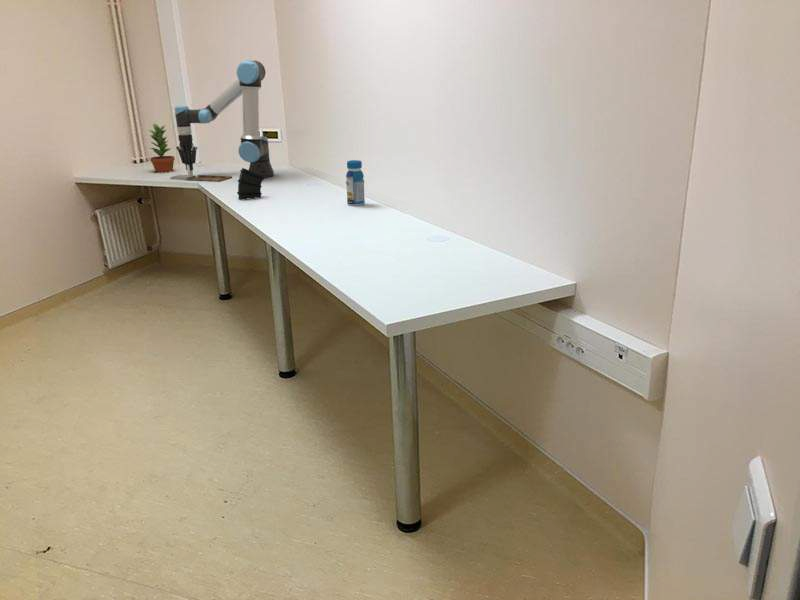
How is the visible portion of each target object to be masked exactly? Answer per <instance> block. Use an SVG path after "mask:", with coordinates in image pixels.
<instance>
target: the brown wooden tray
mask: <svg viewBox="0 0 800 600" xmlns="http://www.w3.org/2000/svg"><path fill="white" fill-rule="evenodd" d="M230 179H233V175H211V174H210V175H209V174H208V175H205V174H198V175H197V176H196V177H195V178H191V179H189V178H185V180H184V181H187V182H188V181H191V182H192V181H193V182H208V183H209V182H210V183H211V182H212V183H221V182H223V181H224V182H225V181H227V180H230Z"/></svg>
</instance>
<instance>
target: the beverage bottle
mask: <svg viewBox="0 0 800 600" xmlns="http://www.w3.org/2000/svg"><path fill="white" fill-rule="evenodd" d="M346 167H347V168H346V169H347V172H346V175H345V177H346V178H345V179H346V180H345V184H346V200H347V201H346V202H347V205H348V206H352V207H359V206H360V207H361V206H364V205H365V201H366V200H365V179H364V177H365V175H364V172H363V171H362V167H363V162H362V160H358V159H357V160H355V159H354V160H353V159H352V160H347V161H346Z"/></svg>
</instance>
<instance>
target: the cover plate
mask: <svg viewBox="0 0 800 600" xmlns="http://www.w3.org/2000/svg"><path fill="white" fill-rule="evenodd" d="M196 177H197V176H196V175H194V174H193V176H188V174H178V175H175V176H171V177H169V179H170V180H178V181H179V180H180V181H181V180H184V181H185V178H189V179H192V178H196Z"/></svg>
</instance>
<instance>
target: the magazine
mask: <svg viewBox="0 0 800 600" xmlns="http://www.w3.org/2000/svg"><path fill="white" fill-rule="evenodd" d="M239 172H240V174H239V178H238V179H237V182H238V185H237V187H238V189H237V195H238V200H240V199H245V200H248V199H247V198H252V199H256V198H255V197H260V198H261V197H262V195H263V193H262V191H261V188H263V185H262V183H263V181H264V180H265V177H264V176H263V175H260V174H258V173H255V172H252V171H250V170H249V169H246V168H244V167H242V168H241V169H240V170H239ZM263 177H264V178H263Z"/></svg>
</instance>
